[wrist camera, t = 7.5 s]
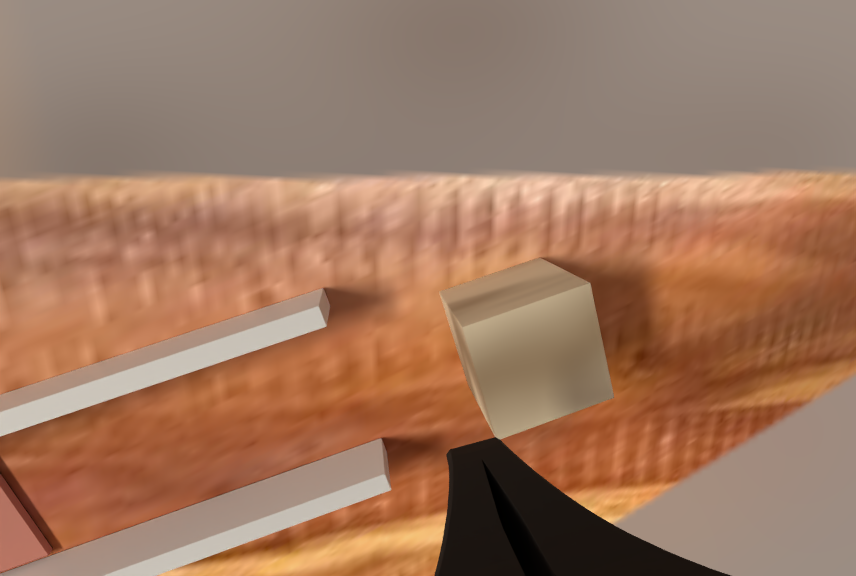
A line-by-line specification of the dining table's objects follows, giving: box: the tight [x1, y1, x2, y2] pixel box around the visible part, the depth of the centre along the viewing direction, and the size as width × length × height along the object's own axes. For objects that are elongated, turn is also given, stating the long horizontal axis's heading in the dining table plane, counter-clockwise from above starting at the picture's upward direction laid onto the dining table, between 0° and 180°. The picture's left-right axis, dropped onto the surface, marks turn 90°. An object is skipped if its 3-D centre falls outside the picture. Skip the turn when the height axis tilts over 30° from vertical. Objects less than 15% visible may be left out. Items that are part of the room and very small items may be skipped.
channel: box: [0, 288, 391, 576], centre depth 18 cm, size 8×18×2 cm, turn 107°
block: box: [439, 257, 614, 439], centre depth 18 cm, size 4×4×4 cm
